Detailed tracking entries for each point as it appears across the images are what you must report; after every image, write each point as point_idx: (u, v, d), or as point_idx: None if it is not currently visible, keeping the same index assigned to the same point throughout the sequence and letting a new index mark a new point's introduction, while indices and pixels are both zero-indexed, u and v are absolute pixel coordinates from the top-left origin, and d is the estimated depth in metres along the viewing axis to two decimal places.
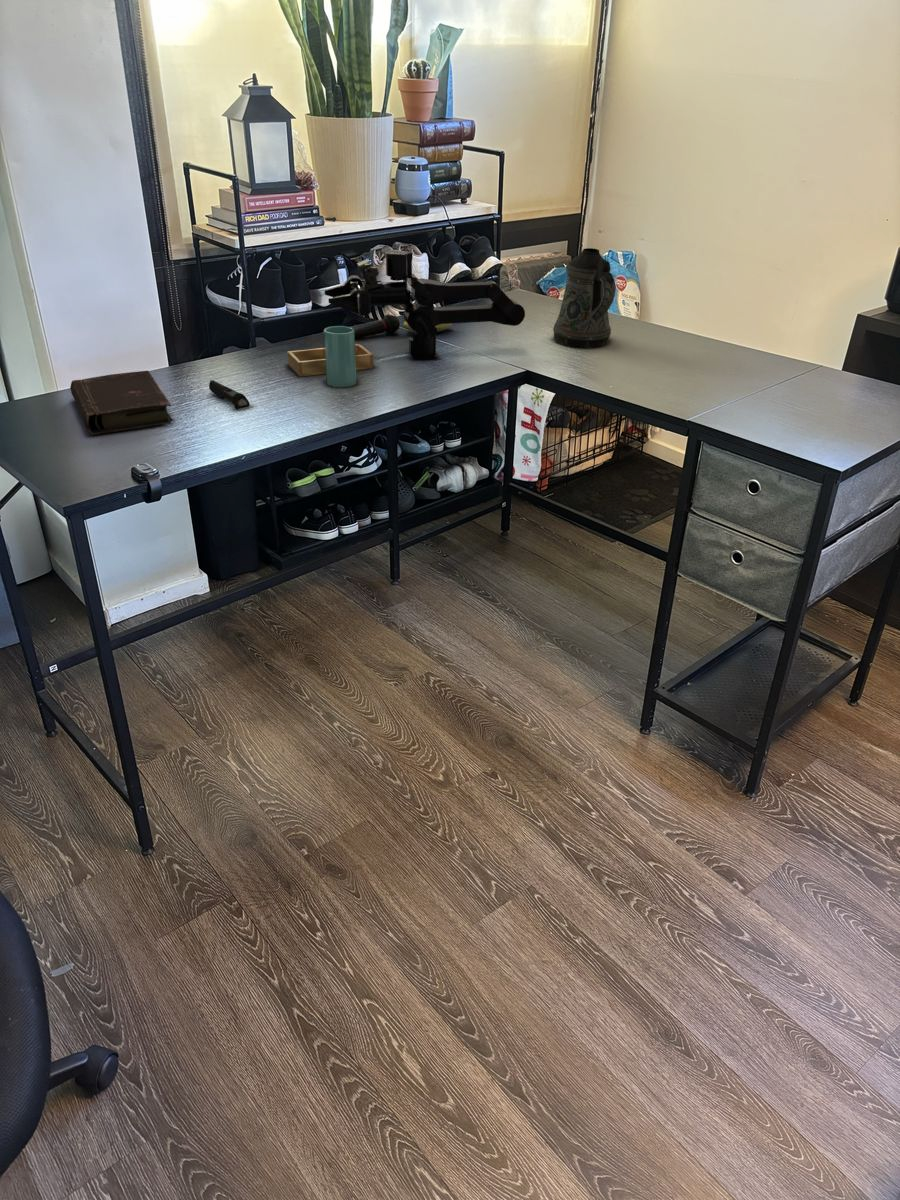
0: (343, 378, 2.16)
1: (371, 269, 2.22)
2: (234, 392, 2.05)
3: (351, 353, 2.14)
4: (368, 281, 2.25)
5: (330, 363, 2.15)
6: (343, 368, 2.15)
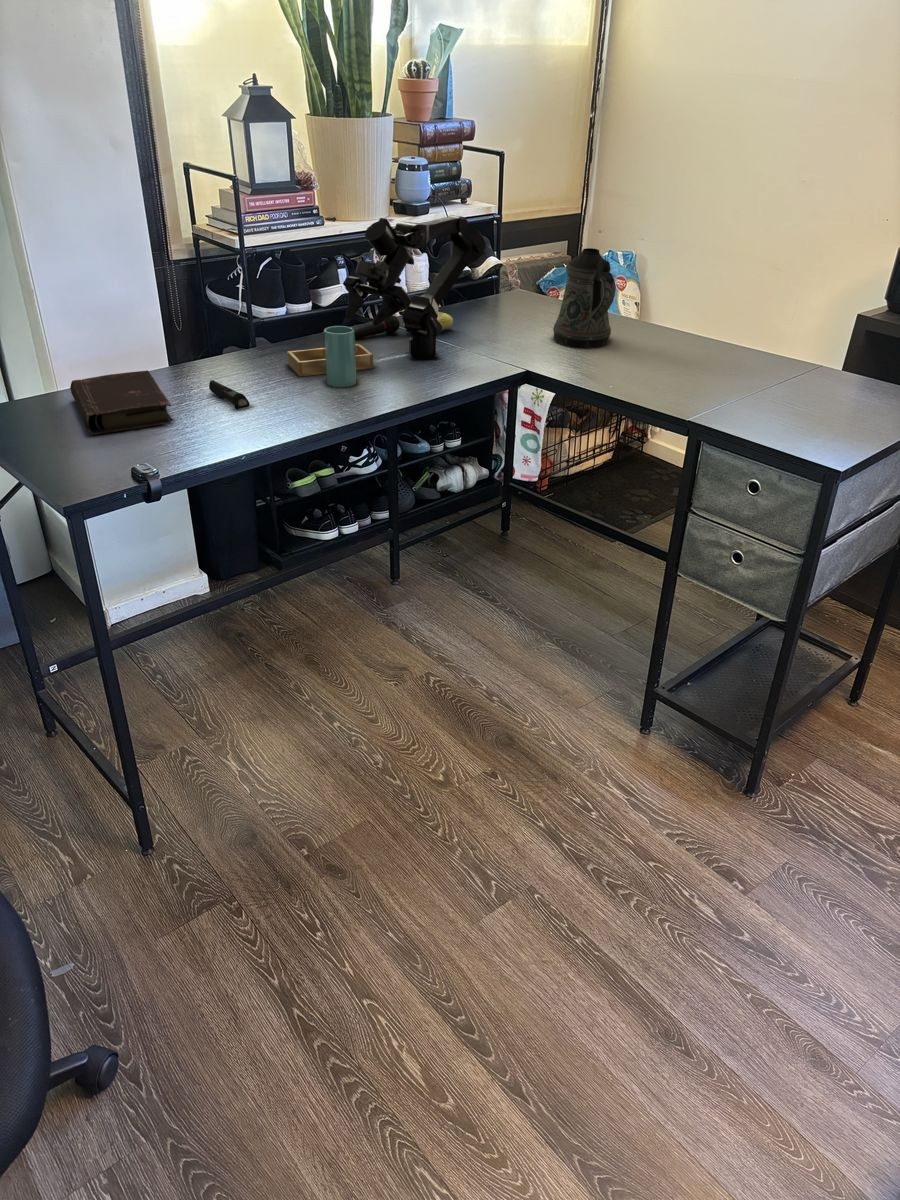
0: (343, 378, 2.16)
1: (380, 267, 2.11)
2: (234, 392, 2.05)
3: (351, 353, 2.14)
4: (380, 276, 2.15)
5: (330, 363, 2.15)
6: (343, 368, 2.15)
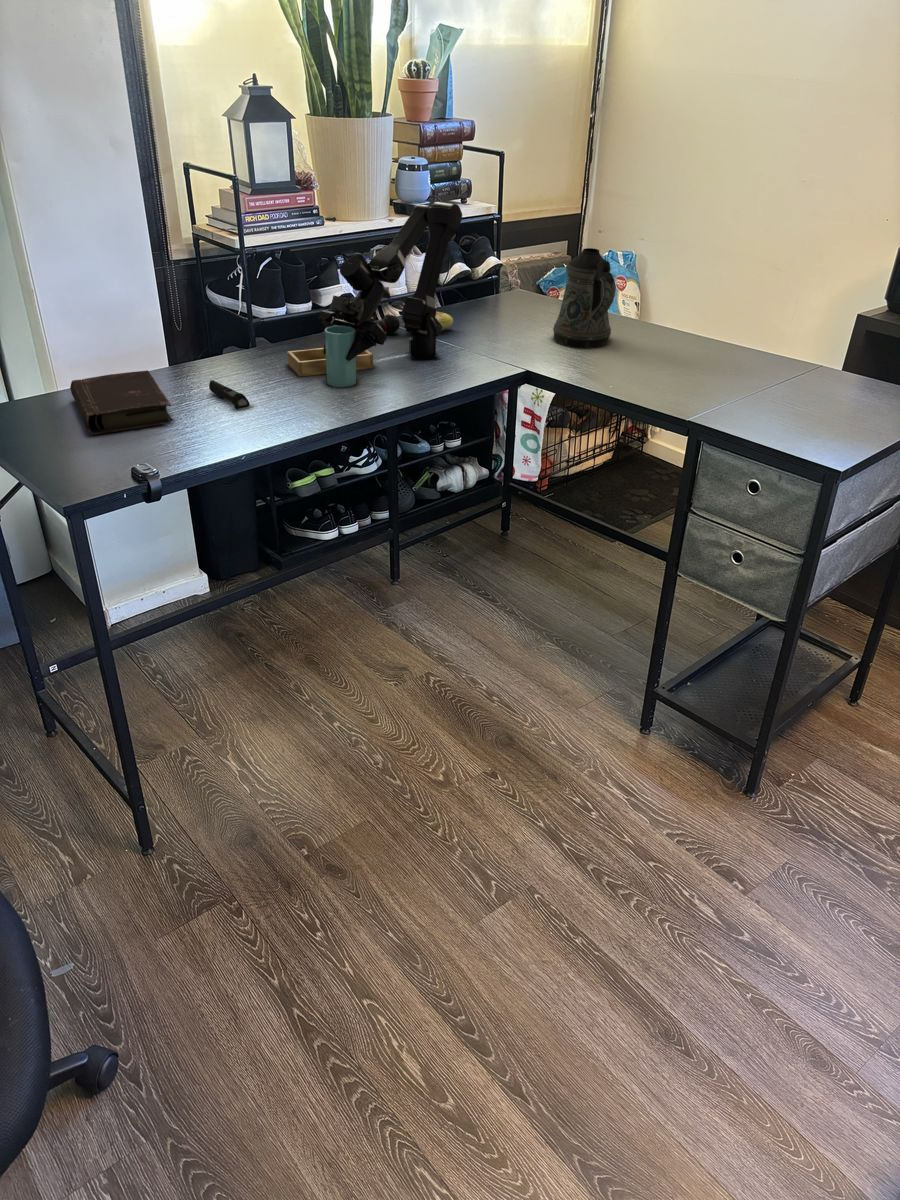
0: (343, 378, 2.16)
1: (355, 302, 2.08)
2: (234, 392, 2.05)
3: None
4: (355, 312, 2.12)
5: (330, 363, 2.15)
6: (343, 368, 2.15)
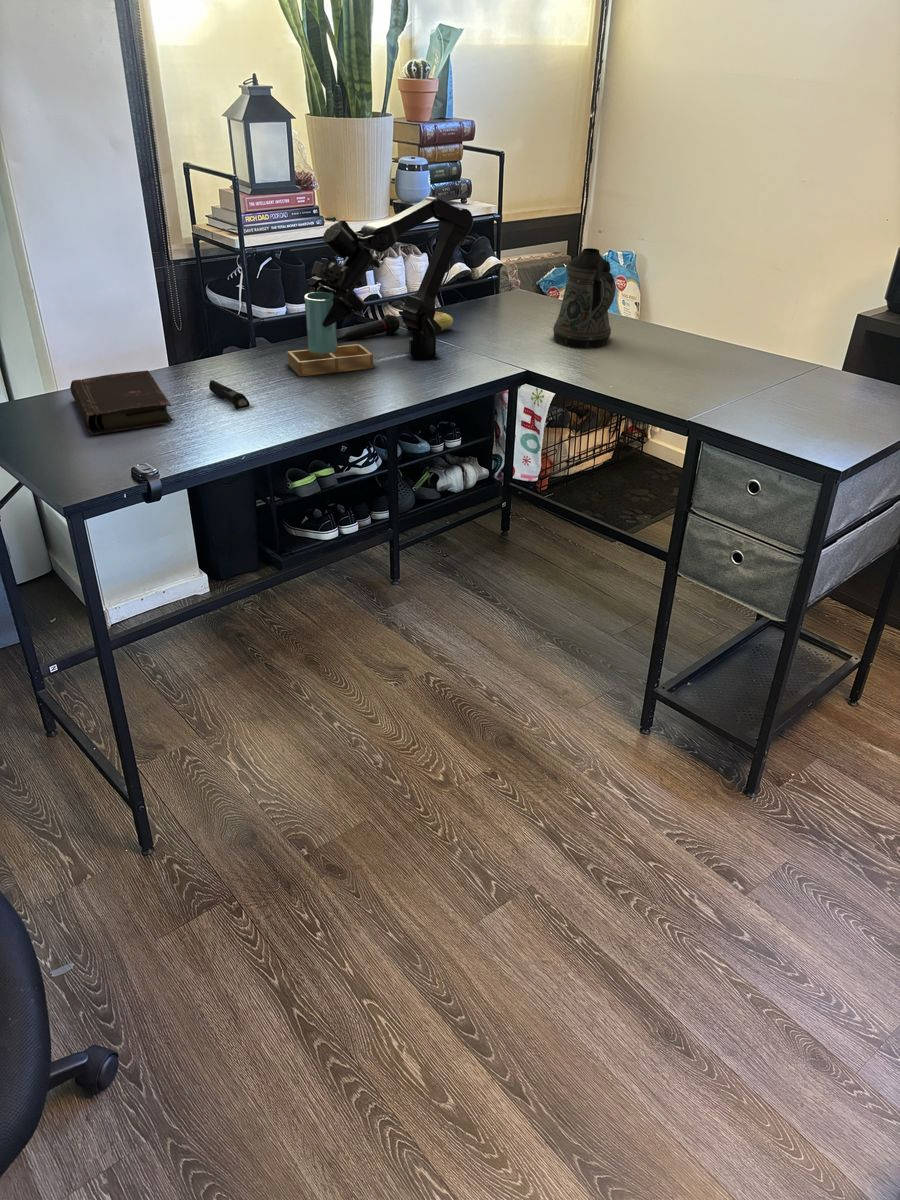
0: (320, 344, 2.17)
1: (332, 269, 2.09)
2: (234, 392, 2.05)
3: None
4: (335, 278, 2.12)
5: (308, 328, 2.16)
6: (320, 335, 2.16)
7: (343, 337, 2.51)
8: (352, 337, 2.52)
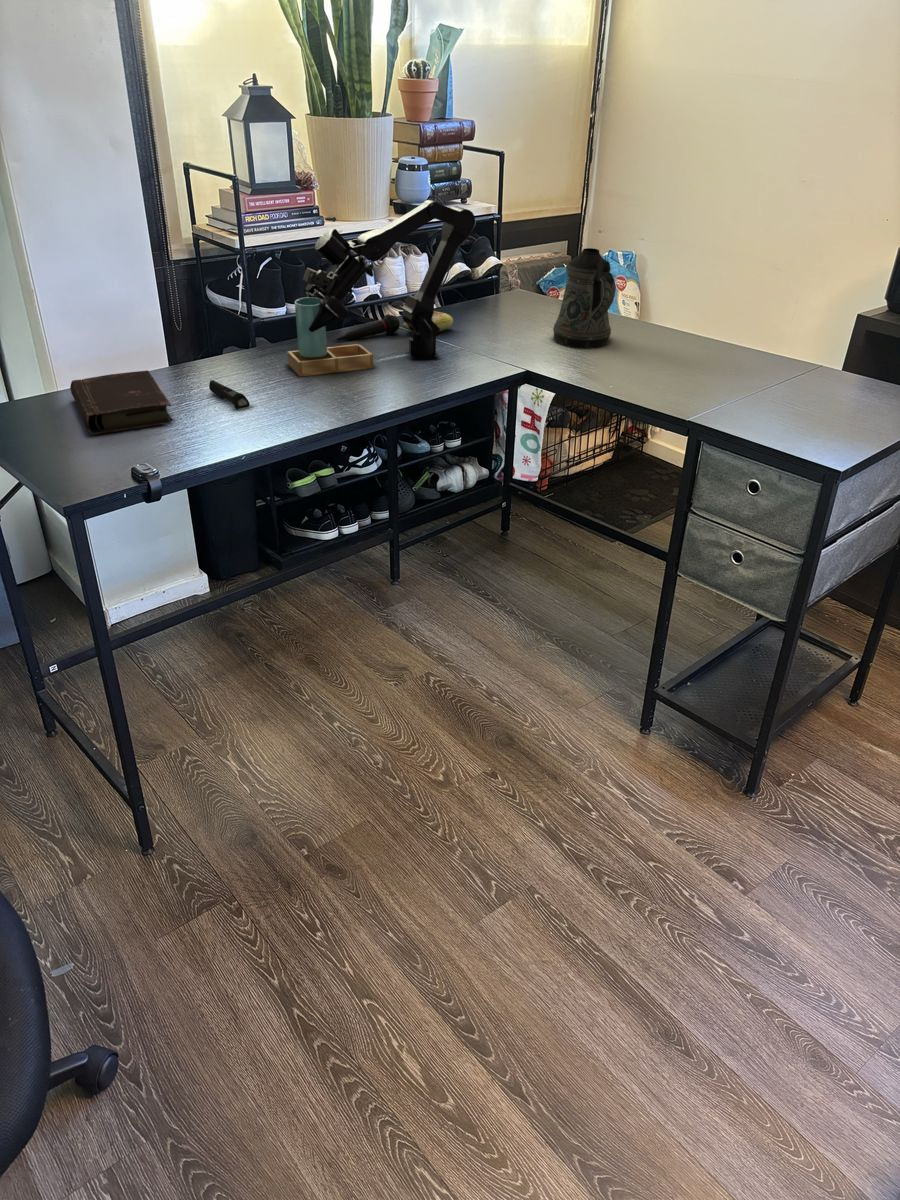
0: (307, 348, 2.24)
1: (318, 276, 2.14)
2: (234, 392, 2.05)
3: None
4: (324, 285, 2.18)
5: (297, 332, 2.23)
6: (307, 339, 2.22)
7: (343, 337, 2.51)
8: (352, 337, 2.52)
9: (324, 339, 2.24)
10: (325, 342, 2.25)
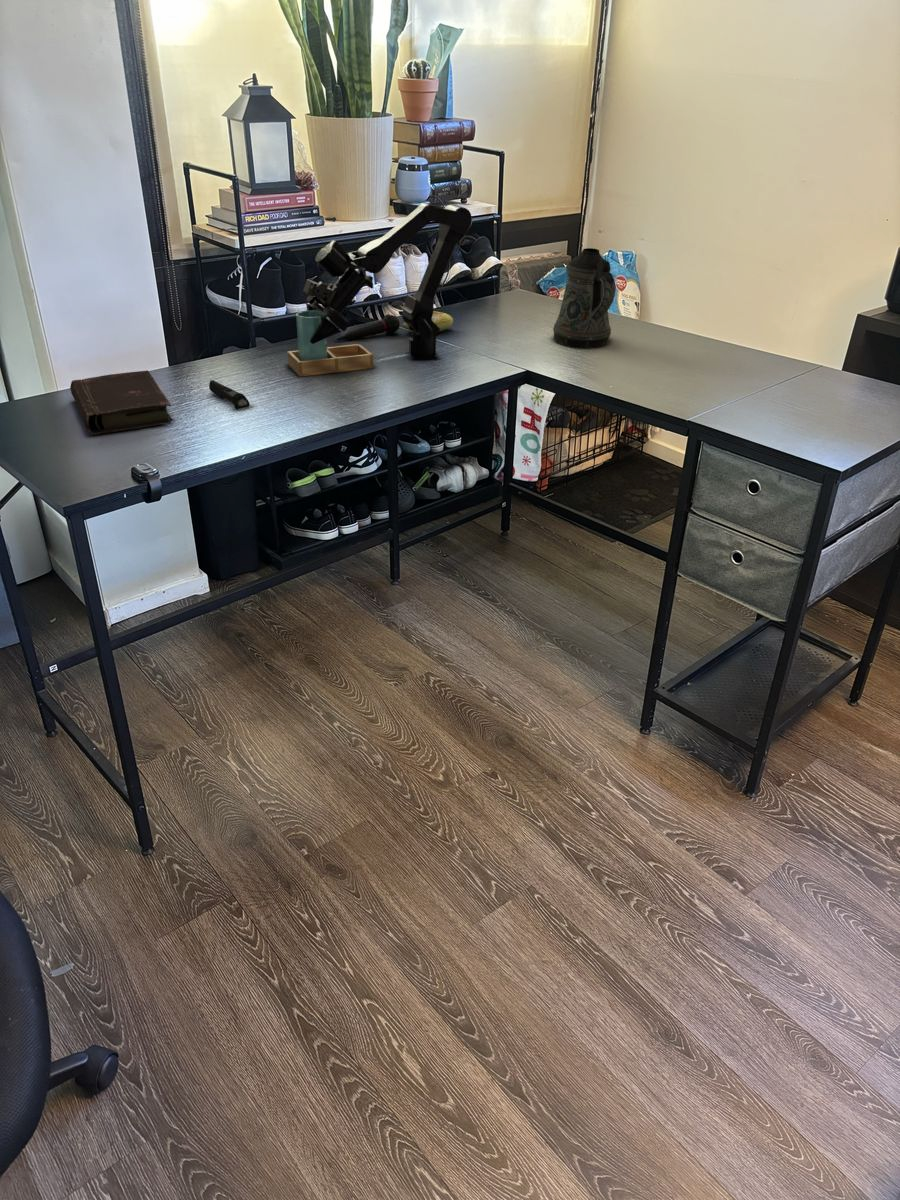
0: (308, 360, 2.25)
1: (319, 287, 2.16)
2: (234, 392, 2.05)
3: None
4: (324, 297, 2.19)
5: (298, 344, 2.25)
6: (307, 351, 2.24)
7: (343, 337, 2.51)
8: (352, 337, 2.52)
9: (325, 351, 2.26)
10: (326, 354, 2.27)
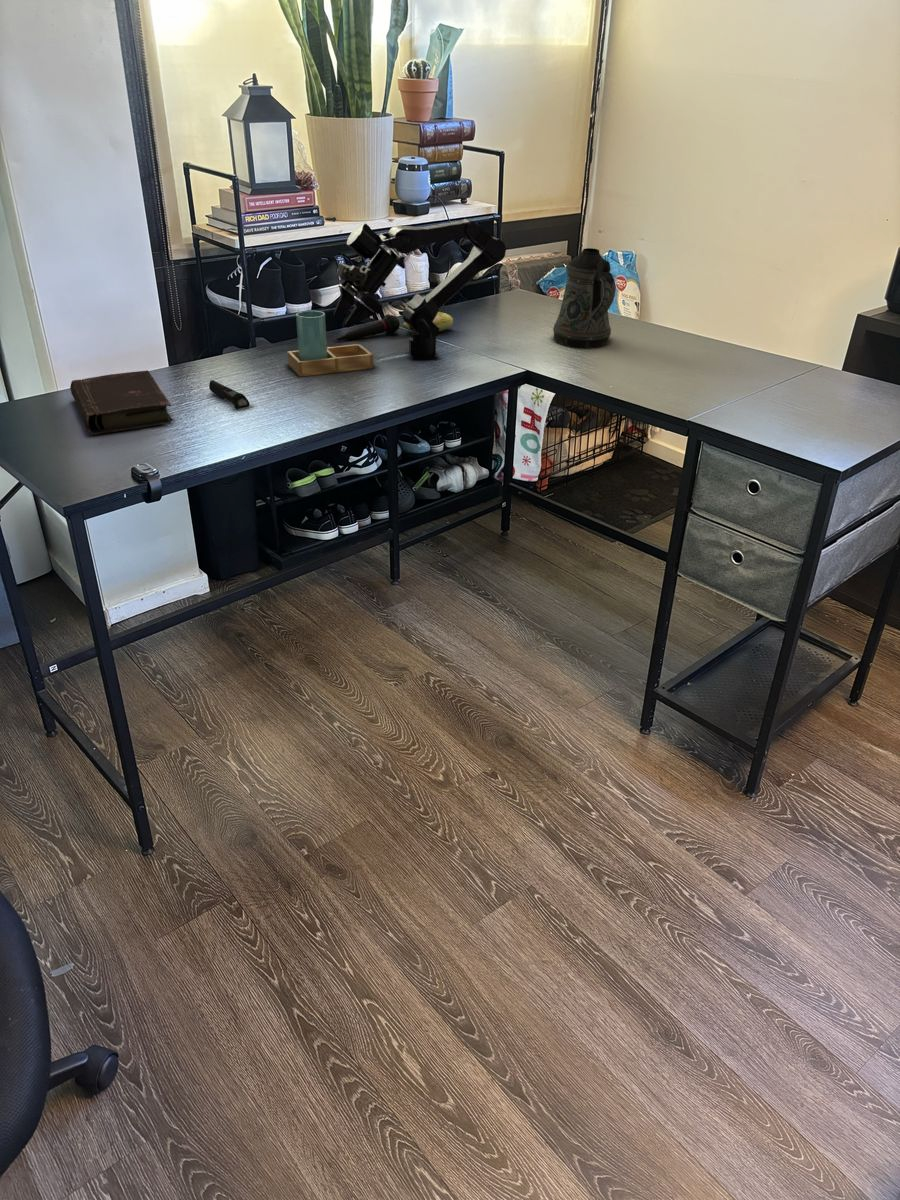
0: (308, 360, 2.25)
1: (352, 272, 2.18)
2: (234, 392, 2.05)
3: (316, 337, 2.23)
4: (357, 280, 2.21)
5: (298, 344, 2.25)
6: (307, 351, 2.24)
7: (343, 337, 2.51)
8: (352, 337, 2.52)
9: (325, 351, 2.26)
10: (326, 354, 2.27)
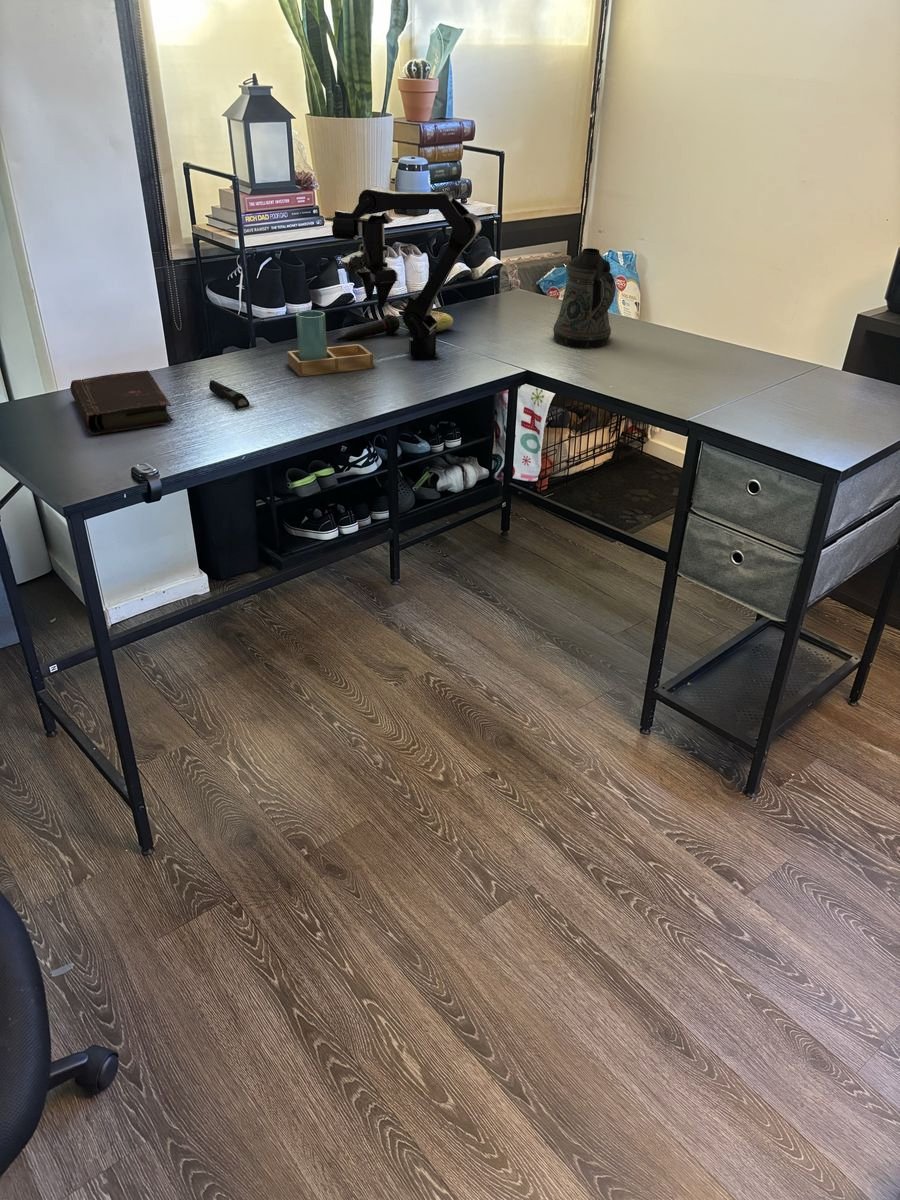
0: (308, 360, 2.25)
1: (353, 263, 2.25)
2: (234, 392, 2.05)
3: (316, 337, 2.23)
4: (363, 264, 2.28)
5: (298, 344, 2.25)
6: (307, 351, 2.24)
7: (343, 337, 2.51)
8: (352, 337, 2.52)
9: (325, 351, 2.26)
10: (326, 354, 2.27)
